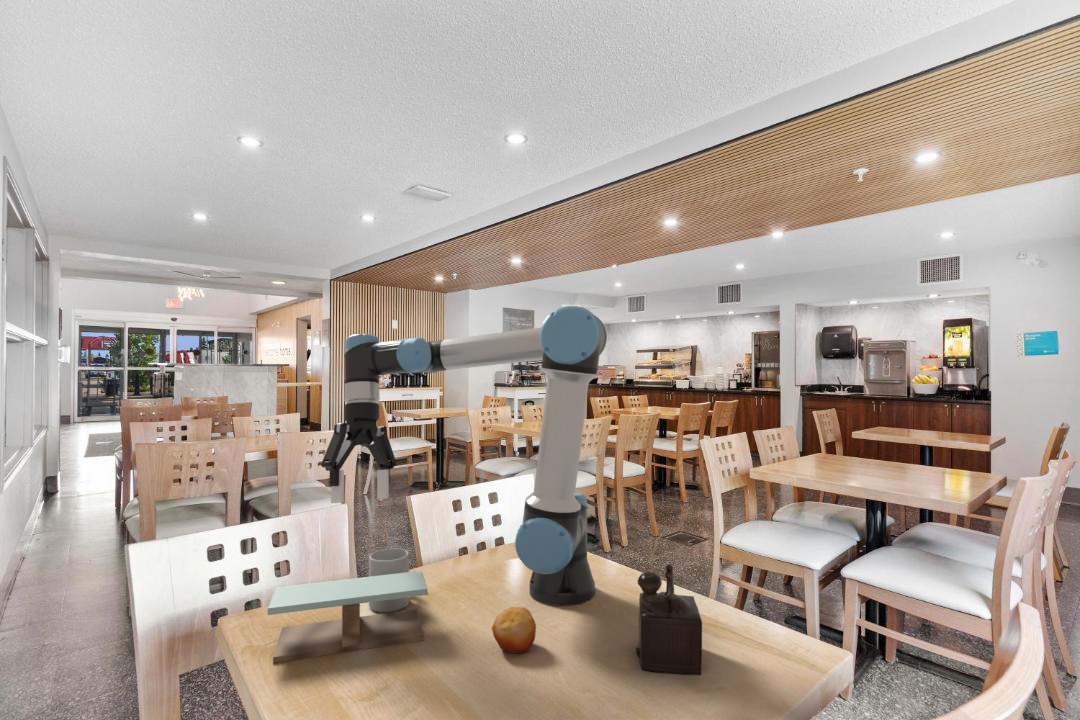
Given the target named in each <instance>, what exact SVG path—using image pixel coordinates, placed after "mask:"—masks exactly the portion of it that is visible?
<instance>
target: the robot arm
mask: <svg viewBox="0 0 1080 720" xmlns="http://www.w3.org/2000/svg"><path fill="white" fill-rule="evenodd" d="M607 335H608V333H607V331H606V327H605V325H604V324H603V322H602V320H600V318H599V317H598V316H596V315H595V314H594V313H593V312H591V311H590V310H588V309H587V308H585V307H584V306H583V307H582V306H578V305H567V306H566V305H564V306H561V307H559V308H557V309H555V310H553V311H551V312H550V313H549V314H548V315H547V316H546V317H545V319H544V320H543V322H542V325H541V327H534V328H527V329H526V328H525V329H519V330H510V331H503V332H495V333H488V334H487V333H486V334H479V335H472V336H470V335H469V336H464V337H463V336H462V337H455V338H448V339H439V340H431V341H426V339H425V338H423V337H419V336H418V337H405V338H401V339H396V340H395V339H394V340H388V341H387V340H386V341H382V342H381V341H380V338H379V337H378V336H377V335H375V334H370V333H363V334H362V333H357V334H356V333H355V334H351V335H350V336H348V337H347V338H346V339H345V347H344V353H343V358H344V392H343V393H344V397H343V398H344V403H345V405H344V406H343V420H344V421H345V422H339V423H338V422H337V423H335V424H334V427H333V434H332V437H331V439H330V442H329V444H328V446H327V449H326V451H325V453H324V456H323V459H322V461H321V467H322V468H325V471H327V472H328V471H329V487H331V488H330V490H331V491H330V496H331V497H330V499H331V500H330V502H331V504H341V503H344V501H345V500H344V499H345V498H344V497H345V470H344V469H342V467H343V466H344V464H345V462H346V461H347V459H348V458H349V456H350V455H351V453H352V451H353V450H354V448H355V447H356V446H363V447H366V448H367V449H368V450H369V452H370V454H371V456H372V457H373V459H374V461H375V462H376V464H377V466H378V468H379V469H378V470H376V479H377V480H376V483H377V484H376V496H377V497H376V500H387V499H389V498H390V494H389V492H390V491H389V487H390V482H391V478H390V477H391V473H390V472H391V470H393V469H394V468H395V467H396V466H397V460H396V457H395V454H394V452H393V448H392V445H391V442H390V439H389V436H388V427H387V426H386V425H382V426H377V421H379V420H380V404H379V401H380V376H388V375H397V374H408V373H409V374H413V373H414V374H415V373H416V374H421V373H426V374H434V373H437V372H444V371H445V372H446V371H451V370H452V371H453V370H459V369H460V370H461V369H469V368H470V369H471V368H478V367H486V366H487V367H488V366H495V365H496V366H497V365H498V366H499V365H506V364H517V363H525V362H534V361H541V371H542V372H543V373H544V375H545V377H546V378H547V380H546V386H545V394H544V395H545V396H544V403H543V412H542V413H543V414H542V420H541V429H540V437H539V445H538V452H537V453H538V454H537V462H536V470H535V476H534V484H533V485H534V486H533V491H532V492H531V493H530V494H529V495H528V496H527V497H525V501H524V509H523V516H522V523H521V525H520V526H519V528H518V529H517V531H516V535H515V540H514V547H515V552H516V555H517V557H518V559H519V560H520V561H521V563H522V564H524V566H525V567H526V568H527V569H528V570H530V571H532V574H531V576H530V578H529V579H530V580H529V595H530V596H531V597H532V598H533V599H534V600H536V601H537V602H539V603H543V604H547V605H551V606H552V605H553V606H573V605H574V606H575V605H580V604H583V603H586V602H587V601H588V602H589V601H590V600H592V599H593V598H594V597H595V595H596V583H595V580H594V578H593V577H594V576H593V574H592V570H591V567H590V564H589V561H588V509H589V506H588V503H587V501H588V500H587V497H586V495H585V494H583V493H582V492H576V488H577V481H578V474H579V473H578V472H579V464H580V457H581V449H582V448H581V447H582V439H583V433H584V432H583V430H584V425H585V424H584V423H585V417H586V416H585V415H586V407H587V399H588V389H589V384H590V382H591V381H592V380H594V379H595V378H596V377H597V376H598V370H599V362H600V356H601V354H602V353H603V352H604V350H605V347H606V344H607V341H608V340H607V339H608V338H607V337H608V336H607Z"/></svg>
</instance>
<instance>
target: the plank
mask: <svg viewBox="0 0 1080 720" xmlns="http://www.w3.org/2000/svg"><path fill="white" fill-rule="evenodd" d="M428 590H429V589H428V586H427V583H426V577H425V575H424V572H423V570H416V571H409V572H406V573H397V574H389V575H380V576H371V577H369V576H363V577H355V578H346V579H337V580H329V581H318V582H311V583H303V584H294V585H284V586H283V585H282V586H276V587H275V589H274V591H273V595H272V596H271V600H270V602H269V604H268V607H267V615H268V616H271V615H272V616H273V615H281V614H286V613H295V612H303V611H304V612H305V611H311V610H319V609H325V608H327V609H328V608H337V607H342V606H344V605H352V604H367V603H368V604H369V602H376V601H383V600H391V599H399V598H407V597H409V598H414V597H421V596H428V593H429V592H428Z"/></svg>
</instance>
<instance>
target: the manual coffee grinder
mask: <svg viewBox="0 0 1080 720" xmlns="http://www.w3.org/2000/svg"><path fill="white" fill-rule="evenodd" d="M673 571H674V566H673V565H672V564H667V565H666V566H665V574H664V577H665V579H666V586H665V587H666V589H665V590H666V591H660V592H658V591H659V590H660V588H661V587H662V585H663V584H662V579H661V576H660V575H659V574H658V573H656V572H653V571H646V572H645V571H644V572H642V573H640V575H639V577H638V578H637V585H638V586H639V587H640V589H641V591H642V592H640V593H639V596H638V600H639V603H638V605H639V606H638V608H639V609H638V610H639V612H638V645H637V646H635V655H636V656H637V657H638V661H639V666H640V668H641V671H642V670H643V671H646V672H647V671H648V672H652V673H656V674H657V673H660V674H671V675H680V676H681V675H684V676H690V675H691V676H700V675H702V659H703V655H702V654H703V620H702V618H701V613H700V611H699V607H698V605H697V603H696V601H695V597H694V596H693V595H692V596H691V595H679V594H677V593H675V585H674V584H675V583H674V573H673Z"/></svg>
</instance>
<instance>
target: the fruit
mask: <svg viewBox="0 0 1080 720" xmlns="http://www.w3.org/2000/svg"><path fill="white" fill-rule="evenodd" d="M491 626H492V627H491V630H492V634H493V637H494V639H495V641H496V642H497V645H498V646H499V648H500V650H502V651H503V652H506V653H513V654H514V653H518V654H523V653H524V654H525V653H527V652H529V651H530V650H531V649H532V646H533V645H534V642H535V639H536V633H537V632H536V631H537V624H536V621H535V620H534V617H533V615H532V613H531V612H530V610H529V609H528V608H526V607H522V606H521V607H520V606H514V607H509V608H506V609H503V611H502V612H500V613H499V614H498V615H497V616H496V617H495V620H494V621H493V624H492V625H491Z"/></svg>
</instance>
